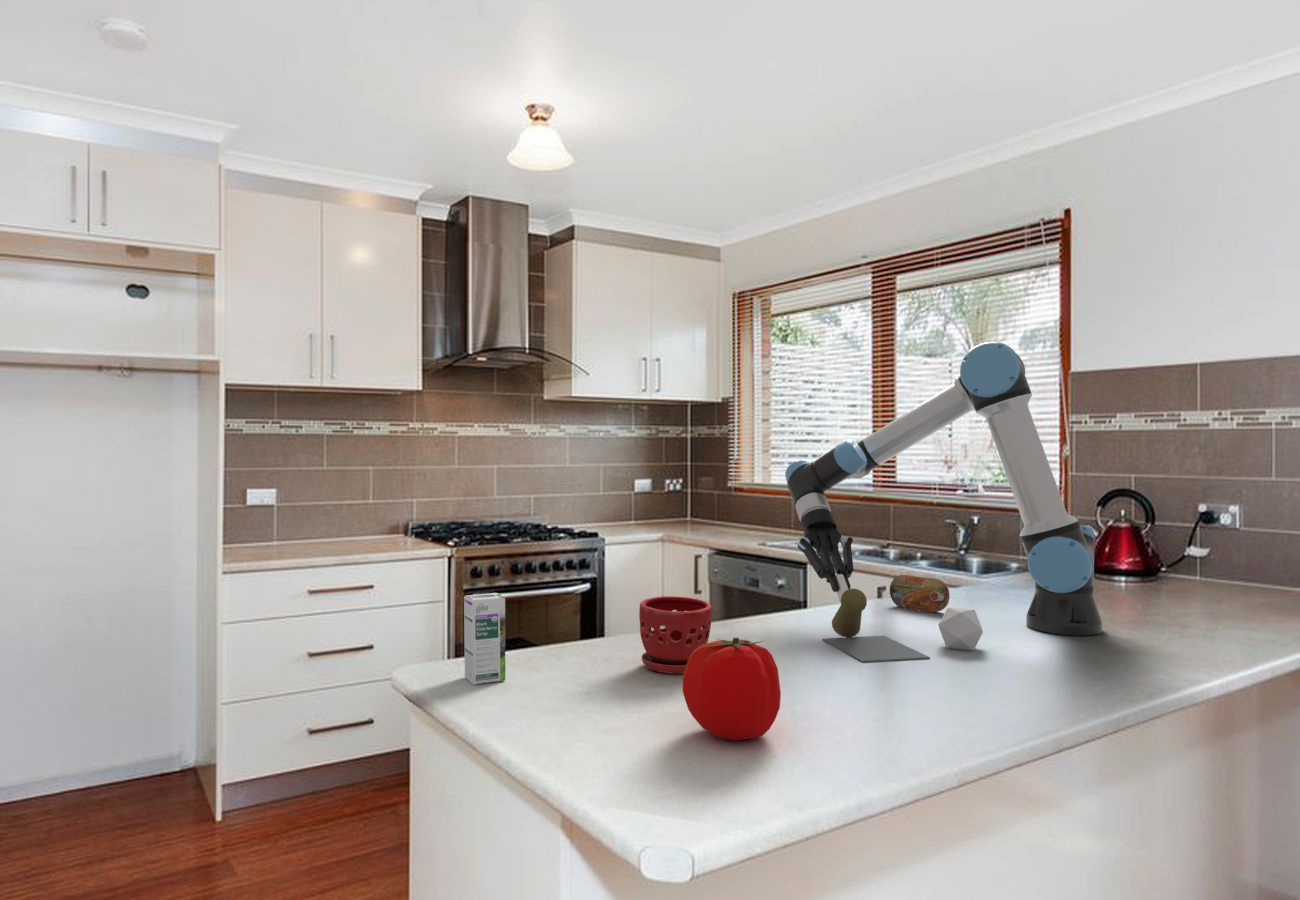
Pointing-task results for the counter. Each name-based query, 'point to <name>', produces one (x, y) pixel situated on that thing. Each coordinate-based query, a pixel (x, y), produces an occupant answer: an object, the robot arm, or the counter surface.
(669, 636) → the plant pot
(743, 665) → the tomato
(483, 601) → the syrup box
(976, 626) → the die
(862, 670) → the counter surface
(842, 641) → the mat
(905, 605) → the tin
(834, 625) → the cork
